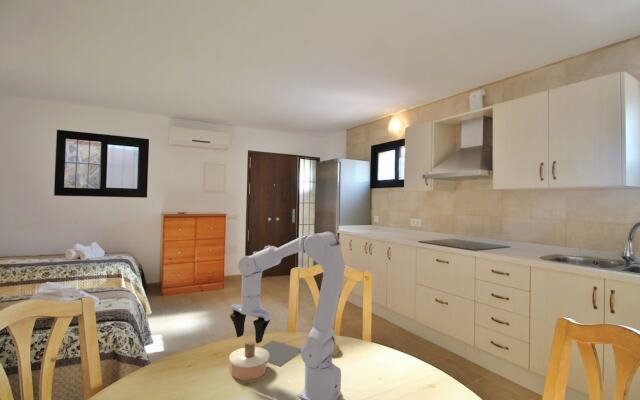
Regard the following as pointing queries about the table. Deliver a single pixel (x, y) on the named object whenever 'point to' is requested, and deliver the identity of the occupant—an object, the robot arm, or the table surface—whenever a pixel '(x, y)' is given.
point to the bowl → (247, 371)
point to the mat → (280, 352)
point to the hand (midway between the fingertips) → (249, 339)
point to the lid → (249, 356)
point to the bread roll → (336, 350)
